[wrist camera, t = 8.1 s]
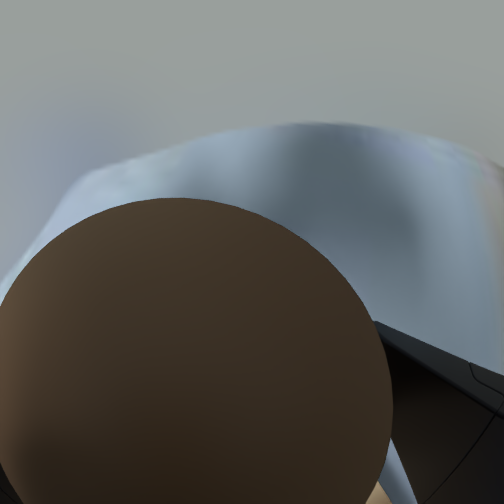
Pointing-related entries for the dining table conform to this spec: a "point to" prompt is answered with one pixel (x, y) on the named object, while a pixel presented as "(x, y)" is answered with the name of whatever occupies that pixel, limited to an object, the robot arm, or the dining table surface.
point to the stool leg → (189, 365)
